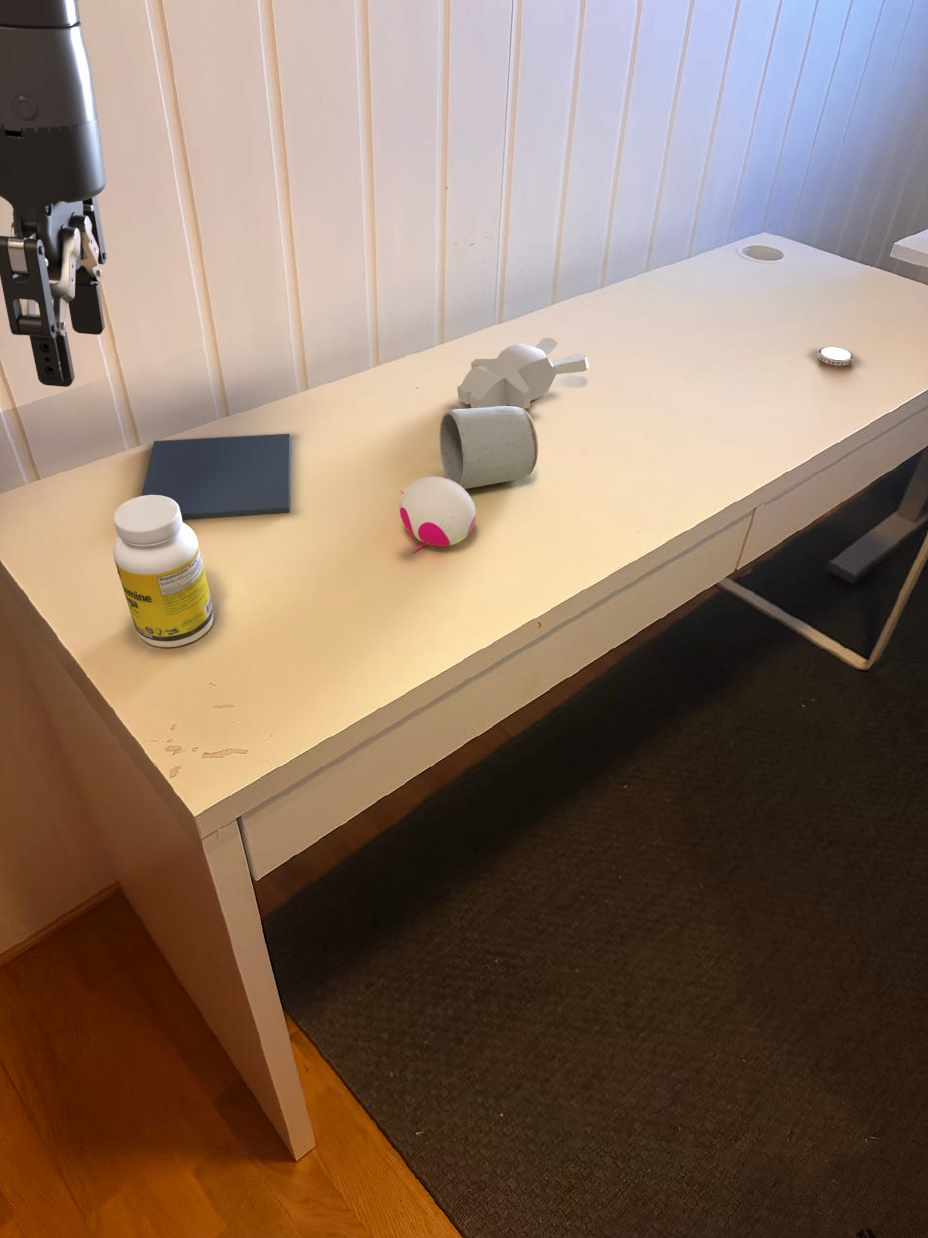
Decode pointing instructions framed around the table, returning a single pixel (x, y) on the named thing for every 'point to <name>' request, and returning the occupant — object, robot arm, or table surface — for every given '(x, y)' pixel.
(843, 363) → the white bottle cap
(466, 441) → the ceramic mug
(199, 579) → the pill bottle
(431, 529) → the stress ball
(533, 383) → the bunny figurine
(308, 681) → the table surface
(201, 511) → the mat
